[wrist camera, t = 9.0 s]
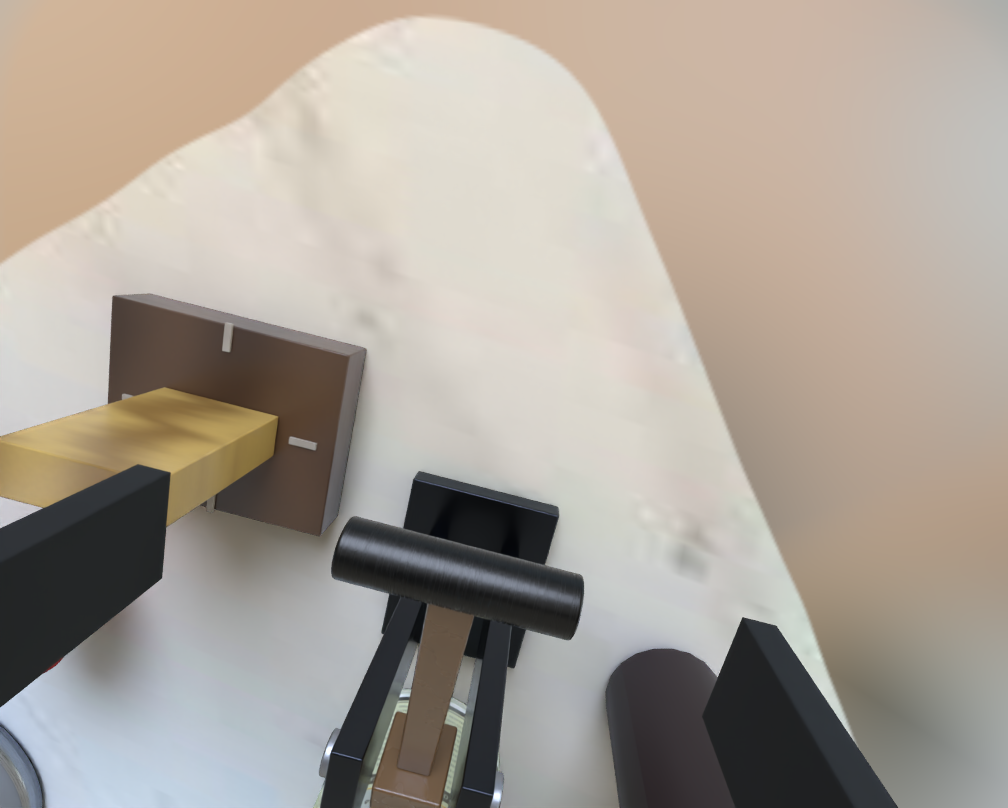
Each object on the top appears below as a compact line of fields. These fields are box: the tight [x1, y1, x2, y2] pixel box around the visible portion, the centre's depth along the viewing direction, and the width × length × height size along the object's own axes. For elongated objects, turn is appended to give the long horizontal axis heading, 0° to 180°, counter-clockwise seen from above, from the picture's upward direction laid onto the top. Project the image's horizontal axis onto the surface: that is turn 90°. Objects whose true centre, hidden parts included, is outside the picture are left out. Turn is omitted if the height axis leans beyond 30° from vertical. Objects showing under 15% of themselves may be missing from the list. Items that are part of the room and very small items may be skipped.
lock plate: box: [108, 294, 366, 536], centre depth 28 cm, size 12×10×3 cm
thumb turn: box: [0, 387, 278, 527], centre depth 22 cm, size 6×2×9 cm, turn 76°
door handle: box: [331, 516, 584, 808], centre depth 15 cm, size 13×6×2 cm, turn 167°
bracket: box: [319, 471, 559, 808], centre depth 23 cm, size 10×8×15 cm
